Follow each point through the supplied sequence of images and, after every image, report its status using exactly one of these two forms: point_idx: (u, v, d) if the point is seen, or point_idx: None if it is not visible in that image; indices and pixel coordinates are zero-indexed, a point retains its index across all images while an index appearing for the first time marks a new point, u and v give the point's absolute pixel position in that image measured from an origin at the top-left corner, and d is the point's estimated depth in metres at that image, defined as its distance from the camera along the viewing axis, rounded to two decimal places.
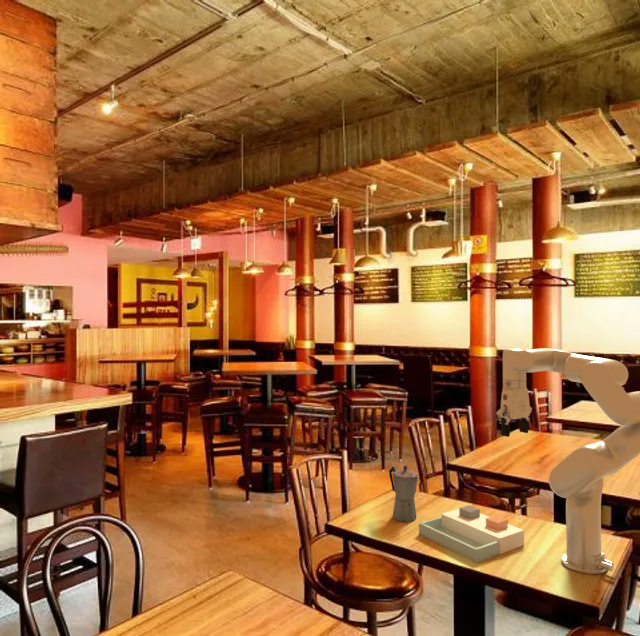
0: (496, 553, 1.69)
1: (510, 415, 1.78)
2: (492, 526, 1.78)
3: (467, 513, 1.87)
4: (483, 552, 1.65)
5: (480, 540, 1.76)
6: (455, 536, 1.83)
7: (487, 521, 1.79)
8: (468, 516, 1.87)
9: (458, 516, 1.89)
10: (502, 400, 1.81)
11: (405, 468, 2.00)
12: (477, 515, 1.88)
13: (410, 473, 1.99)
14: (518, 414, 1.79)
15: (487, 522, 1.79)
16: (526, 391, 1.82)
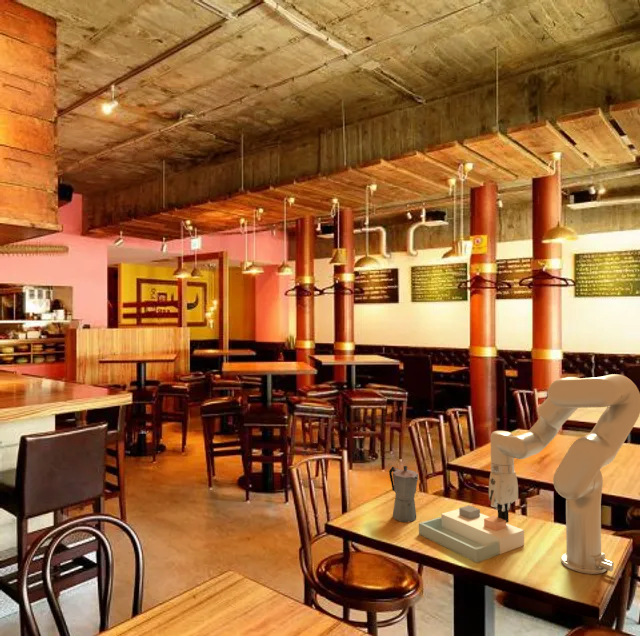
0: (496, 553, 1.69)
1: (498, 501, 1.77)
2: (490, 526, 1.77)
3: (467, 513, 1.87)
4: (483, 552, 1.65)
5: (480, 540, 1.76)
6: (455, 536, 1.83)
7: (485, 521, 1.79)
8: (468, 516, 1.87)
9: (458, 516, 1.89)
10: (490, 484, 1.80)
11: (405, 468, 2.00)
12: (477, 515, 1.88)
13: (410, 473, 1.99)
14: (506, 499, 1.78)
15: (485, 522, 1.79)
16: (514, 475, 1.81)
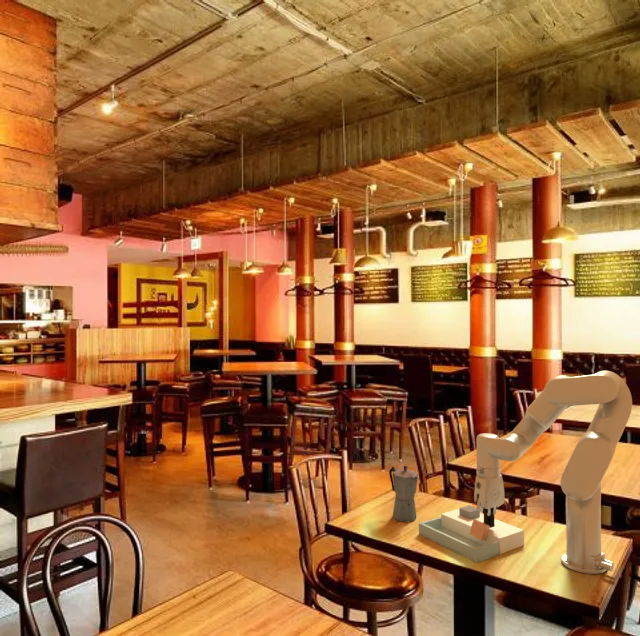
0: (496, 553, 1.69)
1: (483, 505, 1.73)
2: None
3: (467, 513, 1.87)
4: (483, 552, 1.65)
5: (480, 540, 1.76)
6: (455, 536, 1.83)
7: None
8: (468, 516, 1.87)
9: (458, 516, 1.89)
10: (475, 488, 1.76)
11: (405, 468, 2.00)
12: (477, 515, 1.88)
13: (410, 473, 1.99)
14: (492, 503, 1.74)
15: None
16: (500, 479, 1.77)
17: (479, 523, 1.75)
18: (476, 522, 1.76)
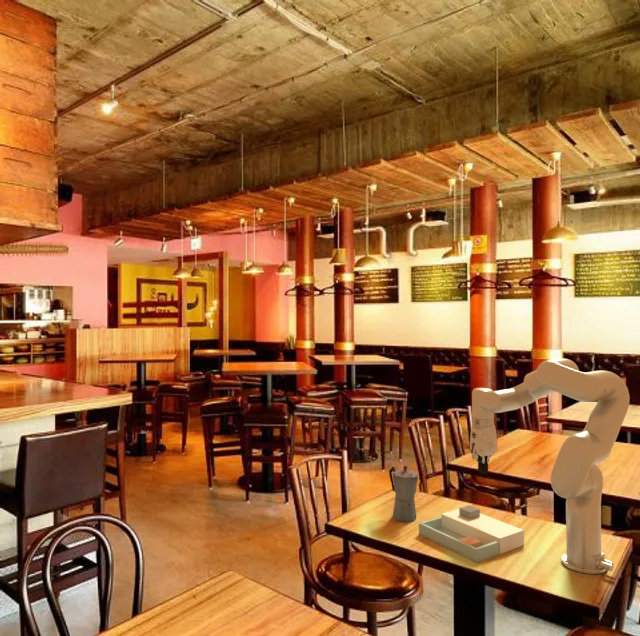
0: (496, 553, 1.69)
1: (478, 453, 1.87)
2: None
3: (467, 513, 1.87)
4: (483, 552, 1.65)
5: (480, 540, 1.76)
6: (455, 536, 1.83)
7: None
8: (468, 516, 1.87)
9: (458, 516, 1.89)
10: (471, 438, 1.89)
11: (405, 468, 2.00)
12: (477, 515, 1.88)
13: (410, 473, 1.99)
14: (486, 451, 1.88)
15: None
16: (494, 429, 1.91)
17: None
18: None
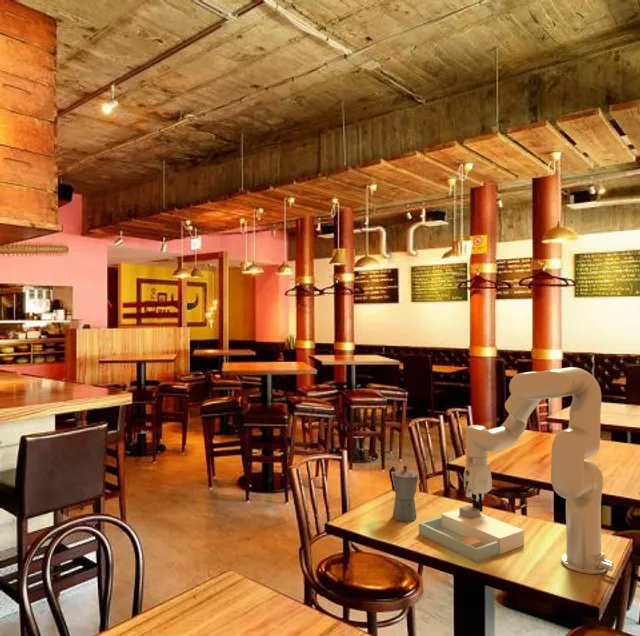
0: (496, 553, 1.69)
1: (472, 491, 1.87)
2: None
3: (467, 513, 1.87)
4: (483, 552, 1.65)
5: (480, 540, 1.76)
6: (455, 536, 1.83)
7: None
8: (468, 516, 1.87)
9: (458, 516, 1.89)
10: (465, 475, 1.90)
11: (405, 468, 2.00)
12: (477, 515, 1.88)
13: (410, 473, 1.99)
14: (480, 489, 1.89)
15: None
16: (488, 467, 1.91)
17: None
18: None
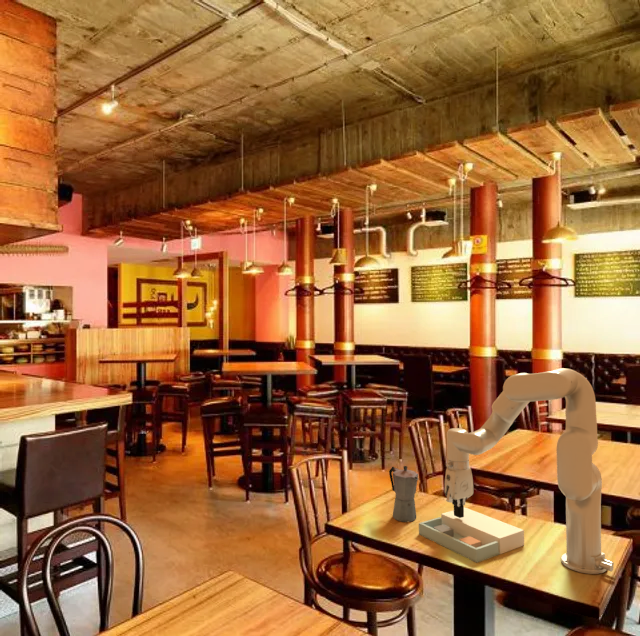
0: (496, 553, 1.69)
1: (452, 496, 1.82)
2: None
3: None
4: (483, 552, 1.65)
5: (480, 540, 1.76)
6: (455, 536, 1.83)
7: None
8: None
9: None
10: (445, 480, 1.85)
11: (405, 468, 2.00)
12: (445, 533, 1.81)
13: (410, 473, 1.99)
14: (461, 494, 1.83)
15: None
16: (469, 471, 1.86)
17: None
18: None
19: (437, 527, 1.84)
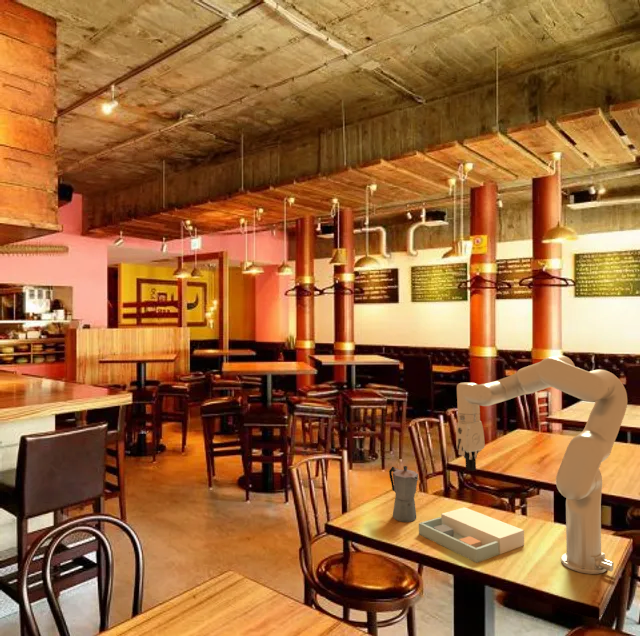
0: (496, 553, 1.69)
1: (465, 448, 1.82)
2: None
3: None
4: (483, 552, 1.65)
5: (480, 540, 1.76)
6: (455, 536, 1.83)
7: None
8: None
9: (458, 516, 1.89)
10: (457, 434, 1.85)
11: (405, 468, 2.00)
12: (445, 533, 1.81)
13: (410, 473, 1.99)
14: (473, 447, 1.83)
15: None
16: (480, 424, 1.86)
17: None
18: None
19: (437, 527, 1.84)
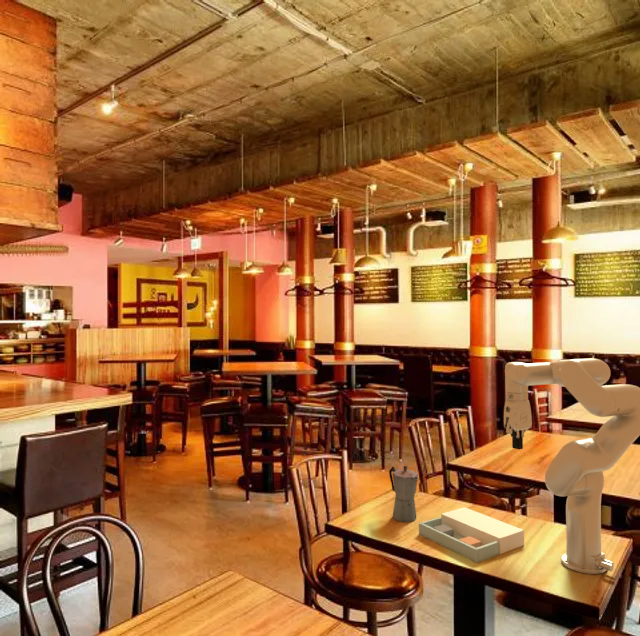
0: (496, 553, 1.69)
1: (513, 427, 1.84)
2: None
3: None
4: (483, 552, 1.65)
5: (480, 540, 1.76)
6: (455, 536, 1.83)
7: None
8: None
9: (458, 516, 1.89)
10: (505, 412, 1.87)
11: (405, 468, 2.00)
12: (445, 533, 1.81)
13: (410, 473, 1.99)
14: (520, 426, 1.85)
15: None
16: (528, 404, 1.88)
17: None
18: None
19: (437, 527, 1.84)
